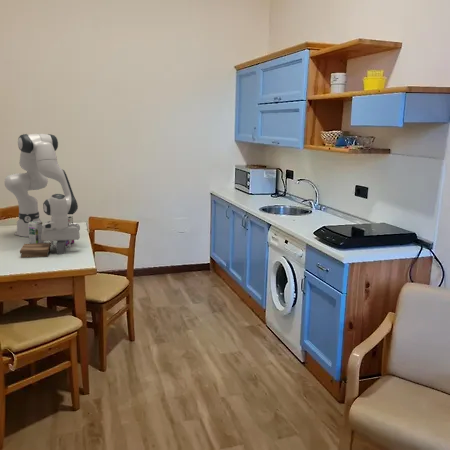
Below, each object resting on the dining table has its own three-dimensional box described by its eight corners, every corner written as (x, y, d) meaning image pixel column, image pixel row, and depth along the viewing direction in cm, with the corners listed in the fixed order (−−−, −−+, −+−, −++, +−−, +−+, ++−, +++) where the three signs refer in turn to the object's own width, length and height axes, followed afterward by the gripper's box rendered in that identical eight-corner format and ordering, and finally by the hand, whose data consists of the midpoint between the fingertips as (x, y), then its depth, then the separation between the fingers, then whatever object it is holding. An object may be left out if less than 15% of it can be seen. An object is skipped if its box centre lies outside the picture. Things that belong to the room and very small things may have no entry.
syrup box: (29, 247, 273) (27, 222, 269) (35, 244, 278) (34, 220, 275) (37, 247, 271) (36, 223, 268) (44, 245, 277) (42, 221, 274)
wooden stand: (25, 250, 265) (24, 243, 264) (51, 249, 268) (50, 242, 267) (20, 257, 252) (19, 250, 251) (48, 256, 255) (47, 249, 254)
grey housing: (58, 249, 269) (58, 239, 268) (66, 249, 270) (65, 239, 269) (56, 254, 260) (56, 244, 258) (64, 254, 261) (64, 243, 259)
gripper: (80, 221, 267) (81, 245, 270) (41, 223, 262) (43, 247, 265) (79, 224, 261) (80, 248, 264) (39, 225, 256) (41, 250, 259)
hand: (61, 247), depth 264 cm, fingers open, 6 cm apart
